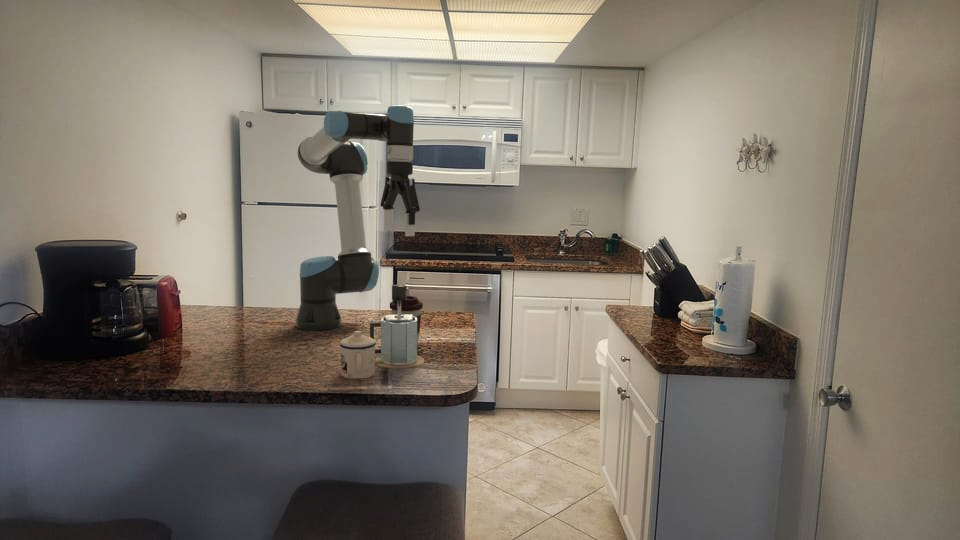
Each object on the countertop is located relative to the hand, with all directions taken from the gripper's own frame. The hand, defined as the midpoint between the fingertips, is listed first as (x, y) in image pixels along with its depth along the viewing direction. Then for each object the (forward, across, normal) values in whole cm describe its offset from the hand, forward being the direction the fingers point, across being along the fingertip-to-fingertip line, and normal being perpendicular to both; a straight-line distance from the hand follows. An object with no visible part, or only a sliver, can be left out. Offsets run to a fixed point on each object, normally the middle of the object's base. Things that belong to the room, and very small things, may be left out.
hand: (398, 233), depth 179 cm
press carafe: (+34, +15, -9) cm, 38 cm away
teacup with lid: (+34, +21, -22) cm, 46 cm away
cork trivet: (+34, +16, -8) cm, 38 cm away
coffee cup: (+35, +2, +2) cm, 35 cm away
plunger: (+31, +16, -8) cm, 36 cm away
